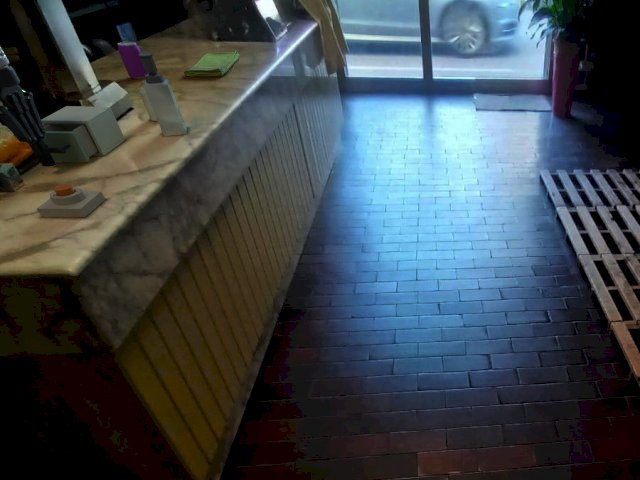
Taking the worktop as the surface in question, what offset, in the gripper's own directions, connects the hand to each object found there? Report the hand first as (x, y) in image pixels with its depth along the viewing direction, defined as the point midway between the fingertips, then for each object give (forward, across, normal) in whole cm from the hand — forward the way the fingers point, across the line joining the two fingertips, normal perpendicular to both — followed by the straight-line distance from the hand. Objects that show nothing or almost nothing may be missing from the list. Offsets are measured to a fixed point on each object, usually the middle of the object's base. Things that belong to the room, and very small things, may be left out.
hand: (49, 165), depth 140 cm
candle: (+3, +49, -8) cm, 50 cm away
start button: (-1, -21, -16) cm, 26 cm away
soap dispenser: (+3, +37, -18) cm, 41 cm away
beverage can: (+3, +102, +22) cm, 104 cm away
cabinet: (+3, +21, 0) cm, 21 cm away
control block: (+3, -21, -16) cm, 26 cm away
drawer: (+2, +11, 0) cm, 11 cm away
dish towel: (+3, +122, -1) cm, 122 cm away
